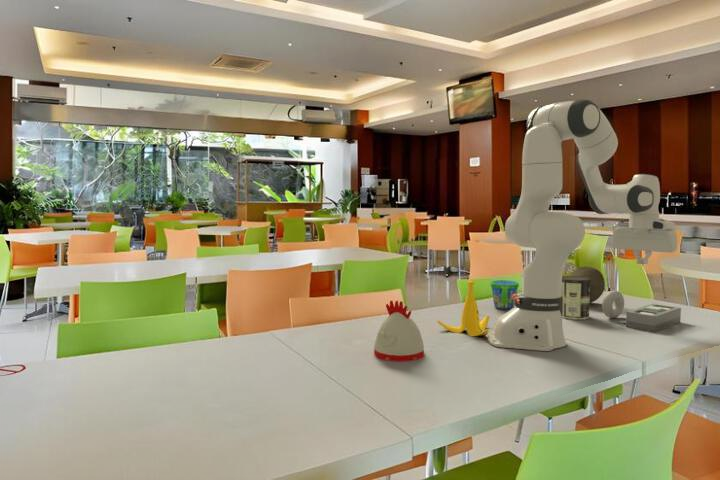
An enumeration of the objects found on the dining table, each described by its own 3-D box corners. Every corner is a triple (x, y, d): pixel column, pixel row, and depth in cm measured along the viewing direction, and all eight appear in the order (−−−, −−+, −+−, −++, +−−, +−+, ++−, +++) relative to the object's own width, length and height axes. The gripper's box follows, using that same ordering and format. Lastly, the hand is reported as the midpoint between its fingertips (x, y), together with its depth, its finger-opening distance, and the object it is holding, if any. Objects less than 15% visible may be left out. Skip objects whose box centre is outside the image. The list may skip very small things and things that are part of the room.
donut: (608, 320, 182) (609, 292, 181) (599, 318, 185) (600, 291, 184) (626, 317, 187) (627, 289, 186) (617, 315, 190) (618, 288, 189)
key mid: (657, 315, 173) (657, 309, 173) (645, 313, 176) (645, 307, 176) (662, 313, 176) (663, 307, 175) (650, 311, 179) (650, 305, 179)
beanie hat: (393, 344, 156) (393, 294, 155) (433, 352, 148) (433, 300, 146) (364, 355, 146) (363, 302, 144) (405, 364, 137) (405, 308, 136)
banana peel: (489, 326, 177) (489, 277, 176) (489, 341, 159) (489, 286, 157) (439, 323, 181) (440, 275, 179) (434, 338, 163) (434, 285, 161)
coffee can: (582, 313, 194) (583, 275, 193) (594, 319, 183) (595, 280, 182) (554, 313, 194) (555, 275, 193) (564, 320, 184) (565, 280, 183)
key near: (649, 321, 169) (649, 315, 169) (636, 319, 173) (636, 313, 172) (654, 319, 172) (654, 314, 172) (642, 317, 175) (642, 311, 175)
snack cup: (517, 313, 195) (517, 286, 194) (488, 311, 199) (488, 284, 198) (519, 304, 210) (519, 279, 209) (492, 303, 213) (492, 278, 212)
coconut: (559, 302, 214) (560, 265, 213) (587, 299, 219) (588, 264, 217) (583, 308, 201) (584, 270, 200) (613, 306, 205) (614, 268, 204)
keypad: (654, 331, 167) (655, 316, 166) (626, 326, 174) (626, 311, 173) (680, 322, 179) (680, 307, 178) (652, 317, 186) (653, 303, 186)
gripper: (608, 222, 182) (607, 261, 183) (672, 224, 166) (670, 267, 167) (617, 221, 186) (616, 260, 187) (680, 223, 170) (678, 266, 171)
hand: (642, 263), depth 177 cm, fingers closed
